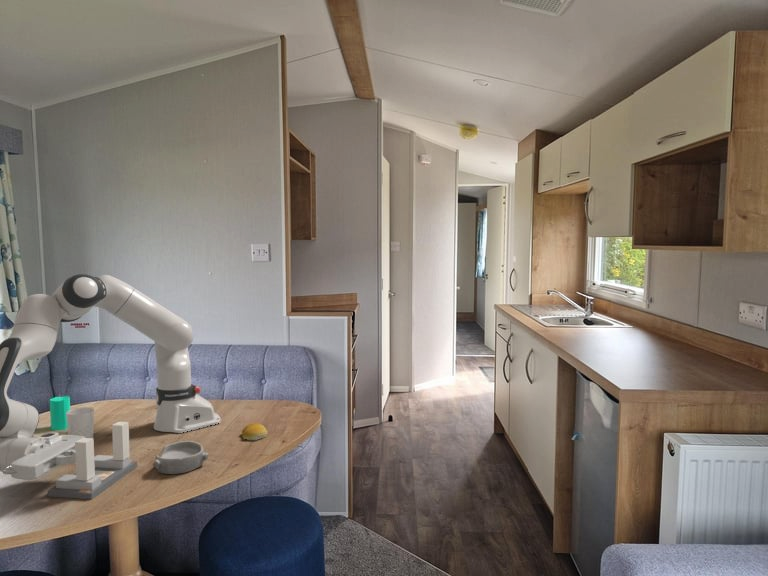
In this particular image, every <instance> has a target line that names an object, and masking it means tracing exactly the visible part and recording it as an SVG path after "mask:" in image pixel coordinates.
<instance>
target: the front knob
mask: <svg viewBox="0 0 768 576" xmlns="http://www.w3.org/2000/svg"><path fill="white" fill-rule="evenodd" d="M94 444H95V441H94V437H93V438H82V439H80V440H78V441H76V442H75V458H76V463H75V473H76V480H84V481H88V480H89V479H91V478H92V477H94V476H95V464H94V457H95V445H94Z"/></svg>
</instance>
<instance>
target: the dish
mask: <svg viewBox="0 0 768 576" xmlns="http://www.w3.org/2000/svg"><path fill="white" fill-rule="evenodd" d="M208 459H209V453H208V452H205V450H204V447H203V444H201V443H199V442H196V441H192V440H184V441H183V440H182V441H176V442H172V443H169V444H165V445H164V446H163V448H162V451H161V454H160V456H159V455H158V454H156V455H155V460H154V463H153V464H154V467H155V468H156V470H157V472H158V473H160V474H165V475H177V474H178V475H179V474H184V473H188V472H191V471H193V470H195V469H198V468H200V467H201V466H202V465H203V464H204V462H205V461H207V460H208Z"/></svg>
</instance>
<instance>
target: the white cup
mask: <svg viewBox="0 0 768 576" xmlns="http://www.w3.org/2000/svg"><path fill="white" fill-rule="evenodd" d="M66 417H67V433H68V434H67V435H77V436H84V437H85V438H94V431H95V428H94V427H95V409H94V408H93V407H89V406H88V407H87V406H86V407H85V406H84V407H78V408H77V407H76V408H73V409H70V410H69V411H67V412H66Z"/></svg>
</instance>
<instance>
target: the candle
mask: <svg viewBox="0 0 768 576" xmlns="http://www.w3.org/2000/svg"><path fill="white" fill-rule="evenodd" d="M69 410H71V397H70V396H69V395H64V396H61V394H60V393H59V396H55V397H53V398H50V399H49V411H50V412H49V413H50V416H49V417H50V429H52V430H51V431H55V430H56V431H63V430H68V428H67V417H66V412H67V411H69Z"/></svg>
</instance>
